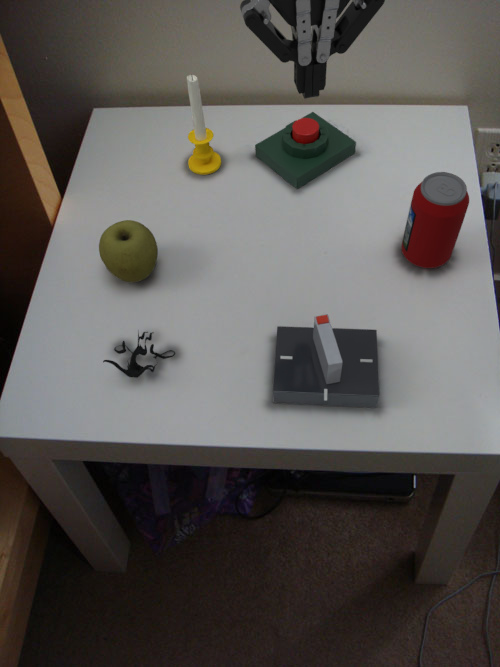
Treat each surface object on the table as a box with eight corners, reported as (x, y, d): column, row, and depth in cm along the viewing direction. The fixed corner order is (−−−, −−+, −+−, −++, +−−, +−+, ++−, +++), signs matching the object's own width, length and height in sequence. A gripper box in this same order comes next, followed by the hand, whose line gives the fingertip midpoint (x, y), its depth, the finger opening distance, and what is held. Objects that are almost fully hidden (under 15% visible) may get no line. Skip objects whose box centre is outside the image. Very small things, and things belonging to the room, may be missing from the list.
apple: (154, 241, 86) (144, 205, 80) (169, 282, 82) (159, 247, 76) (102, 257, 85) (88, 222, 79) (115, 299, 81) (101, 265, 75)
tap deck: (373, 337, 75) (376, 322, 72) (376, 414, 69) (379, 402, 67) (277, 333, 76) (277, 319, 73) (273, 409, 70) (272, 397, 68)
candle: (223, 152, 95) (212, 62, 82) (219, 175, 93) (207, 85, 80) (191, 152, 96) (175, 62, 83) (186, 174, 93) (169, 85, 80)
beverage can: (420, 226, 84) (437, 160, 74) (460, 251, 82) (484, 185, 72) (390, 253, 82) (403, 188, 72) (430, 280, 79) (450, 216, 69)
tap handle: (340, 382, 68) (343, 361, 64) (326, 384, 68) (328, 363, 64) (325, 335, 72) (327, 312, 68) (312, 337, 72) (314, 315, 68)
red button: (306, 123, 93) (306, 114, 91) (324, 136, 91) (324, 126, 89) (286, 135, 91) (286, 125, 90) (304, 148, 90) (304, 138, 88)
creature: (123, 338, 78) (102, 384, 73) (116, 308, 75) (93, 353, 69) (181, 345, 77) (164, 391, 72) (177, 314, 74) (158, 361, 68)
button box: (312, 122, 98) (313, 101, 95) (355, 153, 94) (357, 132, 90) (255, 156, 95) (254, 135, 91) (296, 189, 90) (297, 168, 87)
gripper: (236, -76, 42) (250, 127, 57) (417, -103, 43) (385, 105, 58) (220, -119, 47) (237, 81, 61) (385, -143, 47) (363, 60, 62)
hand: (309, 92), depth 59 cm, fingers closed
